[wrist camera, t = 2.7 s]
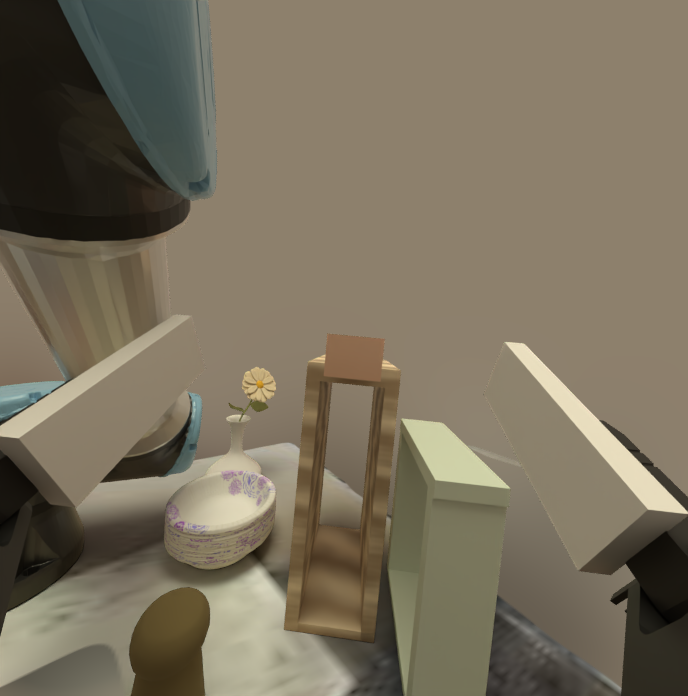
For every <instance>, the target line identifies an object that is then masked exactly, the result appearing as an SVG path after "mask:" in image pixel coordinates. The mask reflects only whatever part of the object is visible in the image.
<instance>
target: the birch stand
mask: <svg viewBox="0 0 688 696" xmlns="http://www.w3.org/2000/svg"><path fill="white" fill-rule="evenodd" d="M325 355H326V354H325ZM325 355H323V356H320V357H318V358H315V359H313V360H311V361H308V366H307V377H306V389H305V400H304V412H303V422H302V433H301V444H300V445H301V446H300V456H299V467H298V478H297V489H296V500H295V512H294V523H293V534H292V545H291V556H290V567H289V579H288V590H287V601H286V612H285V623H284V630H291V631H297V632H304V633H311V634H318V635H324V636H331V637H338V638H344V639H351V640H358V641H365V642H371V643H374V636H375V626H376V616H377V606H378V596H379V586H380V576H381V566H382V556H383V546H384V536H385V526H386V516H387V506H388V495H389V486H390V476H391V466H392V456H393V446H394V436H395V426H396V415H397V405H398V395H399V386H400V376H401V370H399V369H398V368H397V367H395V366H393V365H392V364H391V363H389V362H388V361H386V360H383V362H382V372H381V382H377V381H367V380H357V379H347V378H337V377H327V376H324V366H325ZM332 382H333V383H343V384H352V385H363V386H373V387H374V391H373V402H372V412H371V422H370V432H369V443H368V453H367V463H366V474H365V484H364V495H363V504H362V515H361V525H360V530H356V529H349V528H341V527H333V526H325V525H319V519H320V508H321V498H322V487H323V476H324V464H325V454H326V443H327V433H328V432H327V431H328V421H329V411H330V400H331V389H332Z"/></svg>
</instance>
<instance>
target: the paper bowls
mask: <svg viewBox="0 0 688 696" xmlns="http://www.w3.org/2000/svg"><path fill="white" fill-rule="evenodd" d="M275 510H276V489H275V486H274V484H273V483H272V481H271V480H269V479H268V478H267V477H265V476H263V475H261V474H258V473H255V472H250V471H242V470H230V471H222V472H216V473H212V474H208V475H205V476H202V477H200V478H197V479H195V480H193V481H191V482H189V483H187V484H186V485H184V486H182V487H181V488H180V489H179V490H177V491H176V492H175V493H174V494H173V496H172V497H171V498H170V500H169V501H168V503H167V506H166V509H165V528H164V545H165V548H166V551H167V552H168V553H169V555H170V556H172V557H173V558H174V559H176V560H178V561H180V562H183V563H187V564H190V565H192V566H194V567H196V568H200V569H218V568H223V567H226V566H229V565H231V564H233V563H236V562H237V561H239V560H241V559H242V558H243V557H245V556H246V555H247V554H248V553H249V552H251V551H253V550H254V549H256V548H257V547H258V546H259V545H261V544H262V543H263V542H264V541H265V539H266V538H267V537H268V535H269V534H270V532H271V530H272V527H273V524H274V519H275Z"/></svg>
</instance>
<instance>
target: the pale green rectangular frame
mask: <svg viewBox="0 0 688 696" xmlns="http://www.w3.org/2000/svg"><path fill="white" fill-rule="evenodd" d="M510 492H511V489H510V488H509V487H508V486H507V485H506V484H505V483H504V482H503V481H502V480H501V479H500V478H499V477H498V476H497V475H496V474H495V473H494V472H493V471H492V470H491V469H490V468H489V467H487V465H486V464H485V463H484V462H482V461H481V460H480V459H479V458H478V457H477V456H476V455H475V454H474V453H473V452H472V451H471V450H470V449H469V448H468V447H467V446H466V445H465V444H464V443H463V442H462V441H461V440H460V439H459V438H458V437H457V436H455V435H454V434H453V432H451V431H450V430H449V429H448V428H447V427H446V426H445V425H444V424H443V423H438V422H429V421H419V420H410V419H401V425H400V438H399V448H398V458H397V469H396V478H395V489H394V498H393V508H392V518H391V528H390V538H389V548H388V558H387V572H388V580H389V588H390V596H391V604H392V612H393V620H394V628H395V636H396V643H397V651H398V659H399V667H400V675H401V683H402V691H403V696H486V687H487V678H488V669H489V661H490V652H491V643H492V634H493V625H494V616H495V608H496V599H497V589H498V581H499V571H500V563H501V554H502V545H503V537H504V528H505V518H506V510H507V507H509V500H510Z"/></svg>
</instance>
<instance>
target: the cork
mask: <svg viewBox="0 0 688 696" xmlns="http://www.w3.org/2000/svg"><path fill="white" fill-rule="evenodd" d="M209 623H210V608H209V603H208V601H207V599H206V597H205V595H204V594H203V593H201V592H200V591H199V590H197V589H195V588H190V587H186V588H179V589H175V590H172V591H170V592H168V593H166V594H164V595H162V596H161V597H159V598H158V599H157V600H155V601H154V602H153V603H152V604H151V605H150V606H149V607H148V608H147V610H146V611H145V612H144V613H143V615H142V616H141V618H140V619H139V621H138V623H137V625H136V627H135V629H134V632H133V634H132V638H131V643H130V649H129V656H130V662H131V666H132V669H133V672H134V673H135V674H136V675H135V680H134V684H133V689H132V693H131V696H205V690H204V676H203V663H202V650H201V646H202V645H203V643H204V640H205V637H206V634H207V631H208V627H209Z"/></svg>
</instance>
